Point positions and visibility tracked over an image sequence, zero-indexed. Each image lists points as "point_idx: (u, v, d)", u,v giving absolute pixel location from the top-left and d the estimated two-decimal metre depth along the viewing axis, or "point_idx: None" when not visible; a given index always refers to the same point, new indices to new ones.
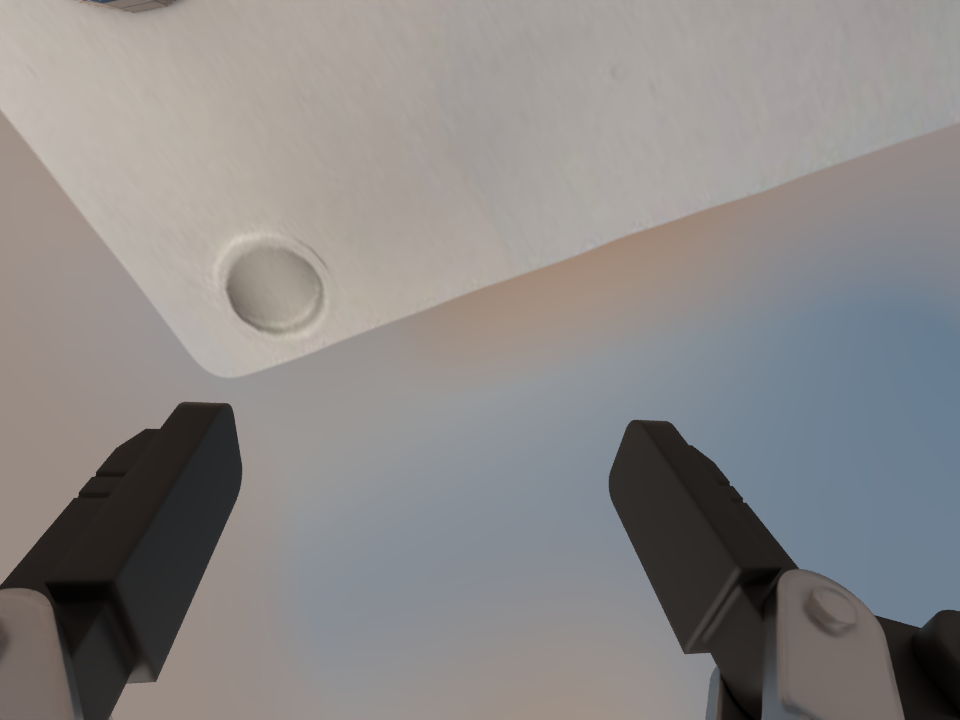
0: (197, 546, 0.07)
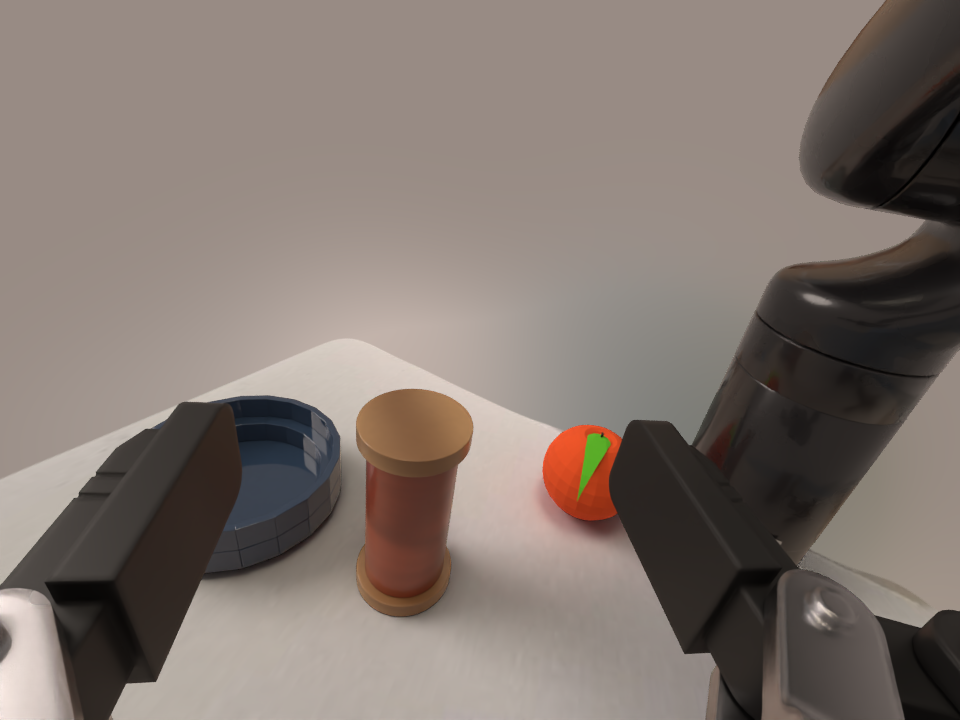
0: (197, 546, 0.07)
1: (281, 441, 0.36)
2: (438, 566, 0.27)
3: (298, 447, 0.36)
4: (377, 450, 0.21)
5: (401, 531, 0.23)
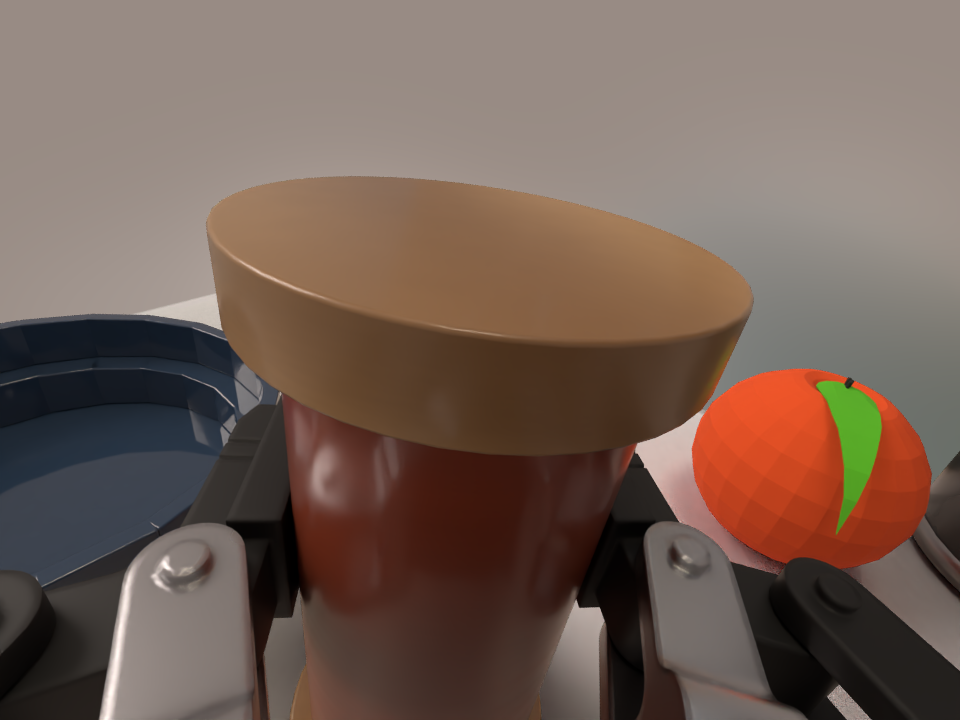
0: None
1: (177, 405, 0.19)
2: None
3: (209, 416, 0.19)
4: None
5: (423, 681, 0.06)
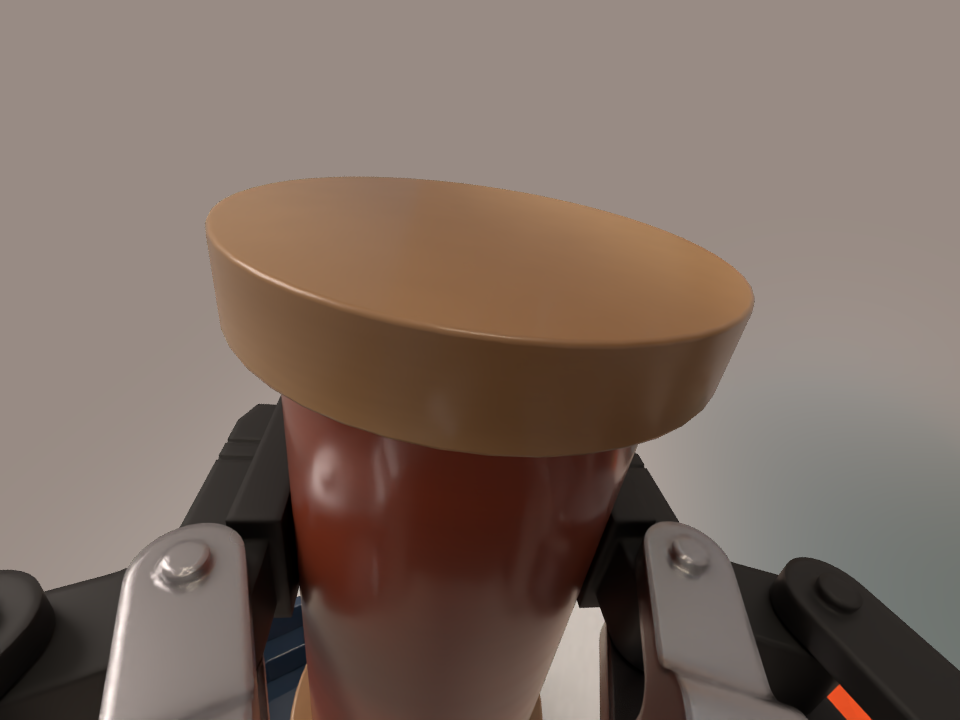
0: None
1: None
2: None
3: None
4: None
5: (424, 683, 0.06)
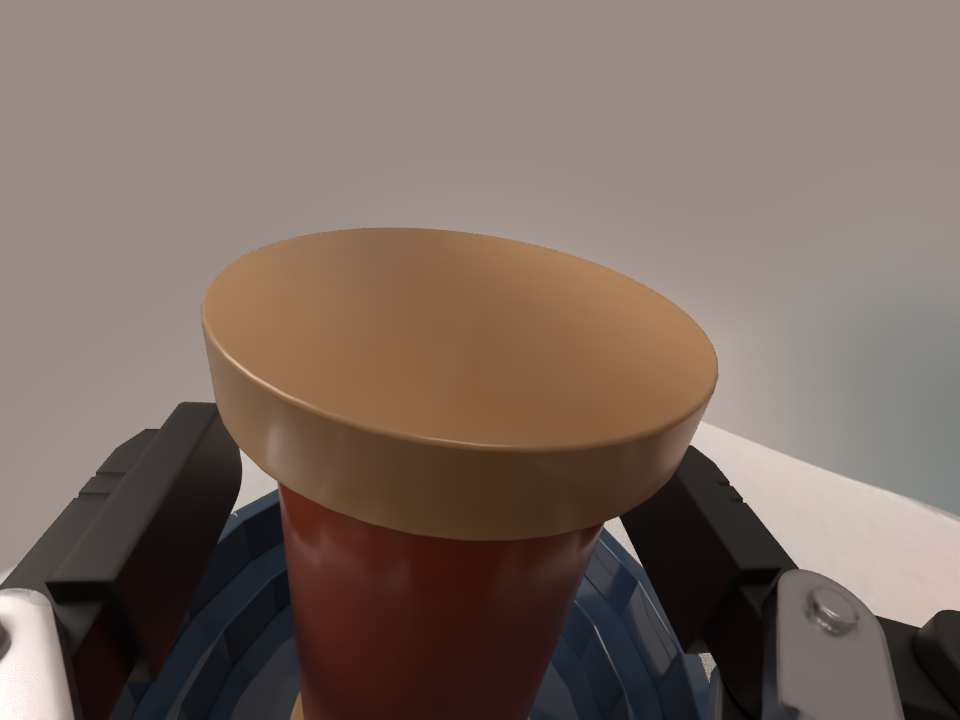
0: (197, 547, 0.07)
1: None
2: None
3: None
4: (278, 384, 0.04)
5: None
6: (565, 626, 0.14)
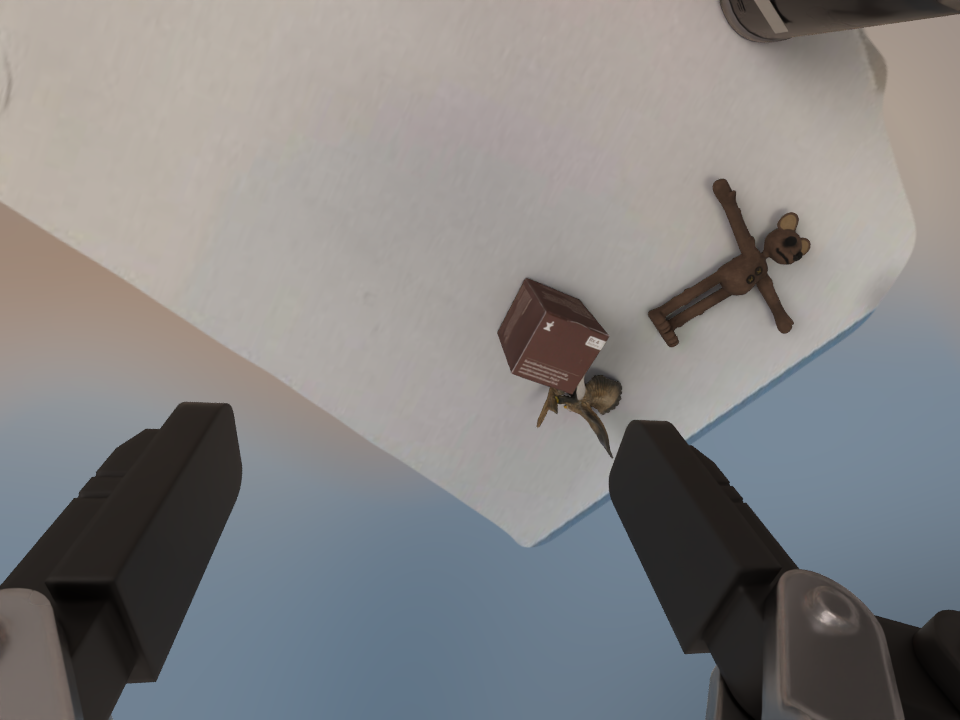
0: (197, 547, 0.07)
1: None
2: None
3: None
4: None
5: None
6: None
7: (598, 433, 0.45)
